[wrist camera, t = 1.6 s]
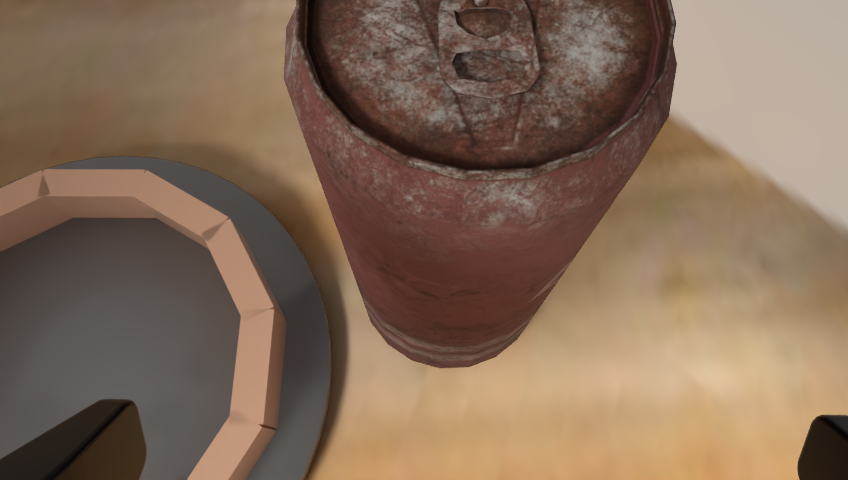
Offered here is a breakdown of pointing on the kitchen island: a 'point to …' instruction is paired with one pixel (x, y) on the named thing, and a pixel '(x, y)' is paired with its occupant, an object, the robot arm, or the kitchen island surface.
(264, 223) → the ring tray
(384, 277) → the can
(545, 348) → the kitchen island surface
